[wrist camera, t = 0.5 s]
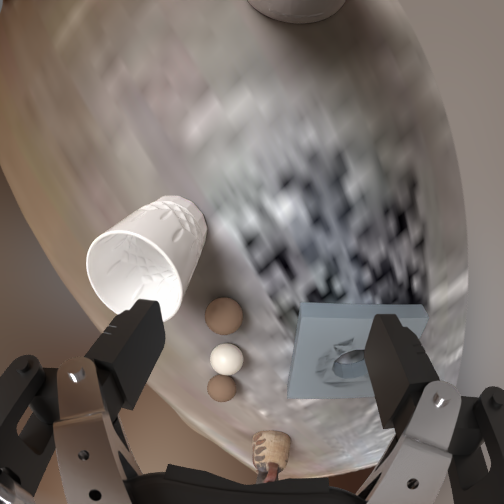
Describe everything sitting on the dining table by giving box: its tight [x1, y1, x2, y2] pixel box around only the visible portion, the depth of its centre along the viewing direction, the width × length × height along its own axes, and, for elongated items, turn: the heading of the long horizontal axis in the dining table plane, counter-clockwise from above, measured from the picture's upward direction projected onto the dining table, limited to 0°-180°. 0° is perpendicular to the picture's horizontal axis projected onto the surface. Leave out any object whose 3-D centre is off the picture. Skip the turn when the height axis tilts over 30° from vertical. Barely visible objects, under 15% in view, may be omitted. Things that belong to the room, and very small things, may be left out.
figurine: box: [252, 431, 290, 484], centre depth 41 cm, size 7×7×12 cm
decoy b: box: [207, 375, 236, 402], centre depth 36 cm, size 4×4×4 cm
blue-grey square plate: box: [287, 302, 429, 399], centre depth 32 cm, size 15×15×2 cm
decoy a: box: [205, 297, 243, 335], centre depth 30 cm, size 4×4×4 cm
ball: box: [210, 343, 243, 375], centre depth 33 cm, size 4×4×4 cm
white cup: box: [86, 196, 207, 322], centre depth 23 cm, size 8×8×10 cm
